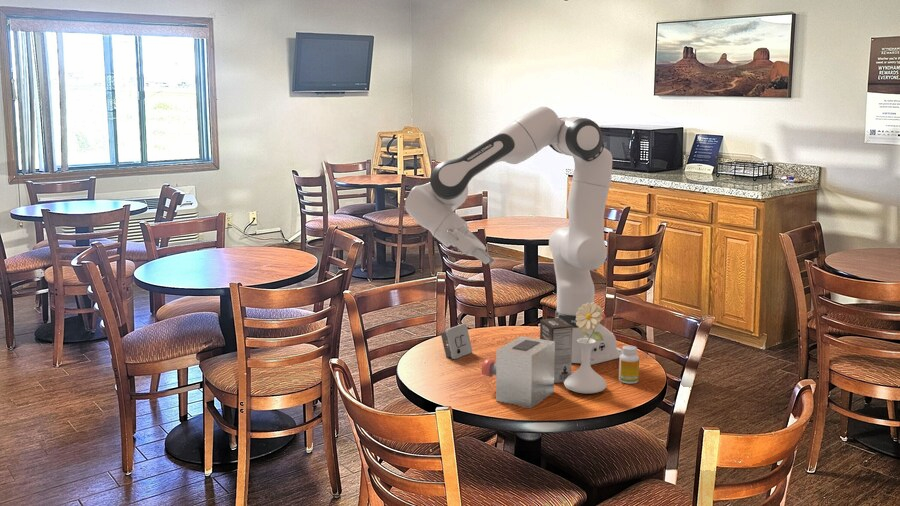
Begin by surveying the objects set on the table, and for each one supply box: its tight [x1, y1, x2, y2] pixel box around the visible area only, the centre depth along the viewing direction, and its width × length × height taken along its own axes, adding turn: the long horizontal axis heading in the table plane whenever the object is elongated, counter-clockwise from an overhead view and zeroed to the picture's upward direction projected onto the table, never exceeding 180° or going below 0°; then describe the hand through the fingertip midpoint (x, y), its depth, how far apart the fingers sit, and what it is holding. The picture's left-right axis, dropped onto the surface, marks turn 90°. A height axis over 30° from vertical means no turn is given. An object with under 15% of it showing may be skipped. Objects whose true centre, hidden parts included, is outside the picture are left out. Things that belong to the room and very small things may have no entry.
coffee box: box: [539, 317, 573, 384], centre depth 233 cm, size 9×6×16 cm
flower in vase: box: [563, 301, 608, 395], centre depth 222 cm, size 13×11×25 cm
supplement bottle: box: [618, 344, 640, 385], centre depth 231 cm, size 5×5×10 cm
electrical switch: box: [440, 323, 473, 360], centre depth 255 cm, size 9×5×9 cm, turn 141°
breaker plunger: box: [481, 358, 496, 378], centre depth 222 cm, size 10×4×4 cm, turn 59°
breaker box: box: [495, 335, 555, 409], centre depth 219 cm, size 10×14×14 cm
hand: (490, 262), depth 229 cm, fingers open, 8 cm apart
